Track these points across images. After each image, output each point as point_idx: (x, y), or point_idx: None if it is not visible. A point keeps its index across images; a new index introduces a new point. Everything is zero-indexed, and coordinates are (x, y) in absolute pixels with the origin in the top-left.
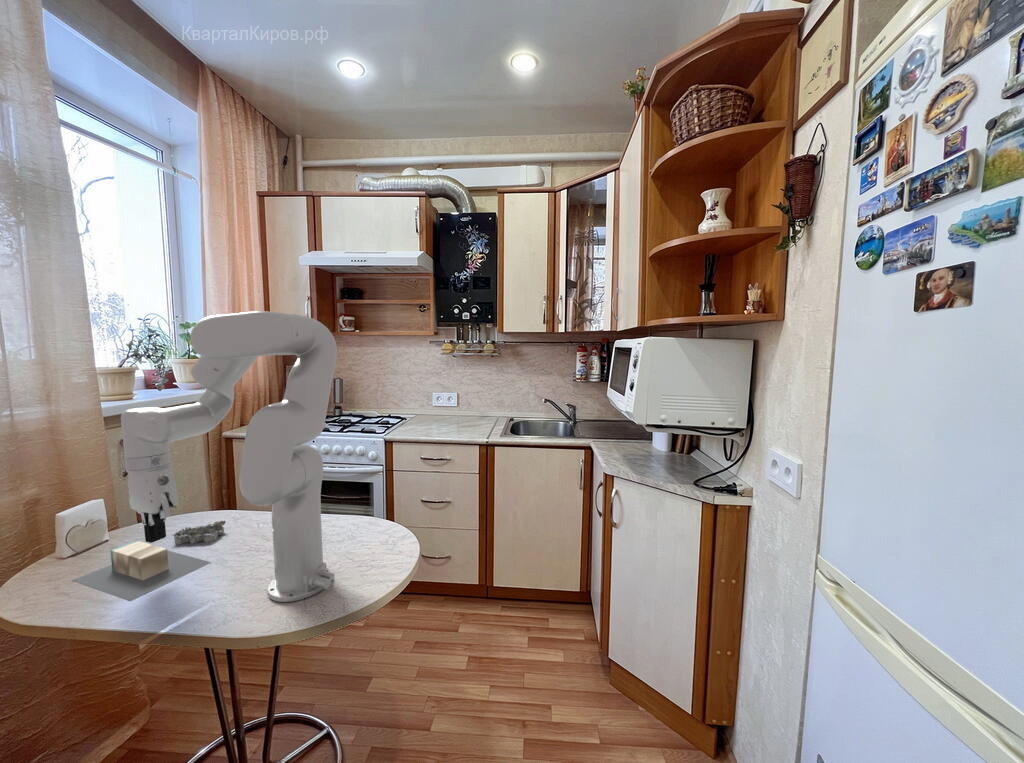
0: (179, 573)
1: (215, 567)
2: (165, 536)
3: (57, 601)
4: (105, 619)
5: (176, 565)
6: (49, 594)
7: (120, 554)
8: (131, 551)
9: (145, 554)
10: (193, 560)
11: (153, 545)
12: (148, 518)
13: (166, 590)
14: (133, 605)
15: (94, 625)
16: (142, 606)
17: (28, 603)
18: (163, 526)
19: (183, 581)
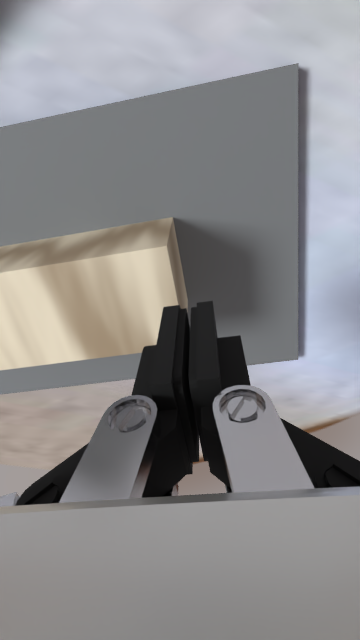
0: (259, 208)
1: (343, 69)
2: (212, 302)
3: (95, 425)
4: (313, 401)
5: (167, 185)
6: (33, 425)
7: (33, 363)
8: (49, 341)
9: (145, 323)
10: (183, 113)
11: (49, 266)
12: (155, 494)
13: (323, 275)
14: (312, 352)
15: (315, 417)
16: (346, 343)
17: (50, 450)
18: (217, 355)
19: (320, 217)
